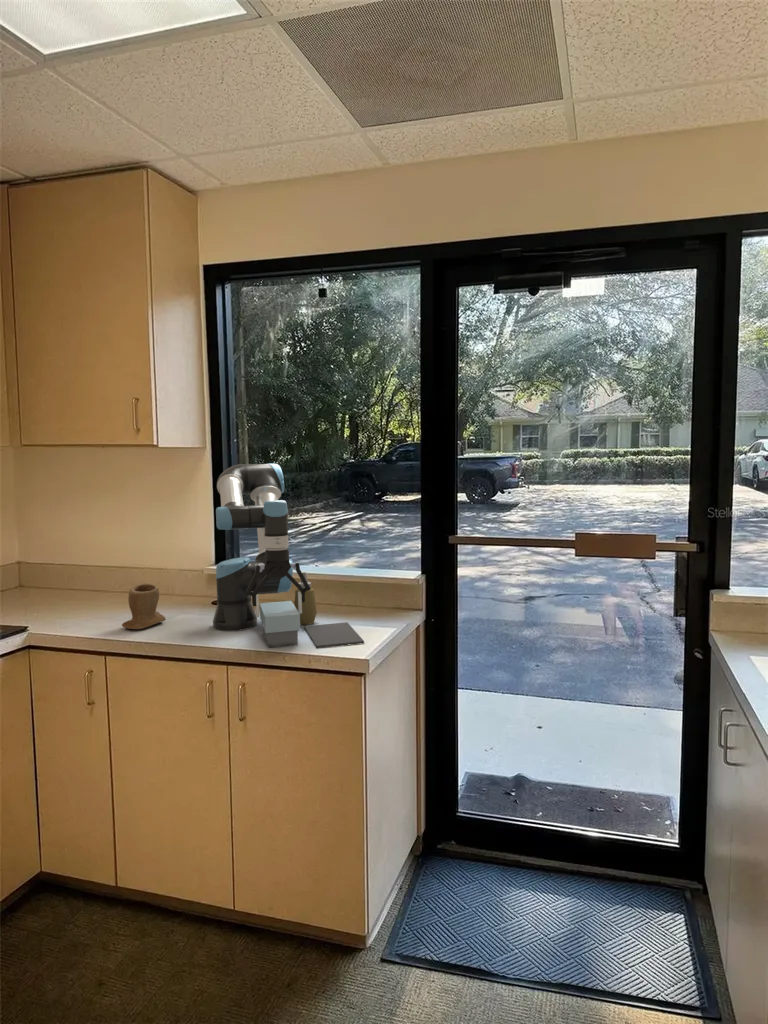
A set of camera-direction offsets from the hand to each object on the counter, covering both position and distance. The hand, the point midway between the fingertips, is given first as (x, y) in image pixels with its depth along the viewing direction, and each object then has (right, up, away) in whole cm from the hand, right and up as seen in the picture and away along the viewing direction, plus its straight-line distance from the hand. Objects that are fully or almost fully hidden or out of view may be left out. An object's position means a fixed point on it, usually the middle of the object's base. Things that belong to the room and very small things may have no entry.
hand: (279, 614), depth 208 cm
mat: (+17, -8, +4) cm, 19 cm away
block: (0, -3, +1) cm, 3 cm away
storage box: (0, -8, +1) cm, 8 cm away
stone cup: (-50, -8, +20) cm, 54 cm away
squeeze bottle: (+6, -6, +20) cm, 22 cm away
